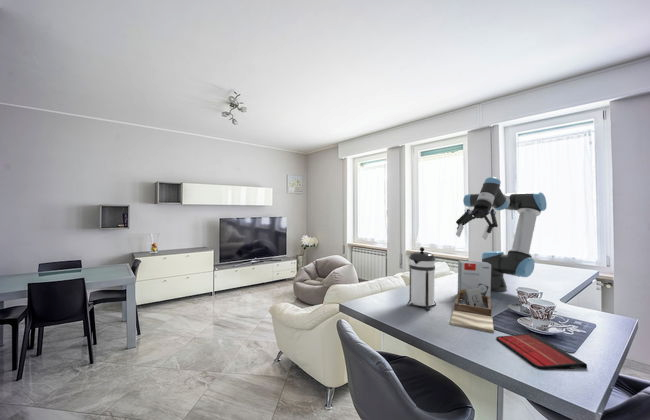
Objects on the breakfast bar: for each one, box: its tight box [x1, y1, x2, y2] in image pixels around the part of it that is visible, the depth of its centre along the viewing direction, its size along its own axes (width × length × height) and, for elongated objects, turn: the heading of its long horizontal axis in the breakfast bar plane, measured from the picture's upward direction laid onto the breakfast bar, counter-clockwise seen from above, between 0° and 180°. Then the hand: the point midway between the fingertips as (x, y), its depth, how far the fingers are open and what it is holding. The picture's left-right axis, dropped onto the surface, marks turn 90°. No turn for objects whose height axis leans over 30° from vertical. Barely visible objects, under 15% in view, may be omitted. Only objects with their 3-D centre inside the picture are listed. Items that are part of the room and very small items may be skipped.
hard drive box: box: [457, 259, 491, 298], centre depth 154 cm, size 16×8×20 cm, turn 73°
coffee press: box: [406, 247, 437, 311], centre depth 141 cm, size 17×16×30 cm
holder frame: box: [454, 291, 492, 317], centre depth 139 cm, size 21×15×4 cm
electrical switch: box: [463, 288, 485, 308], centre depth 139 cm, size 9×5×9 cm, turn 116°
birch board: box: [449, 310, 495, 334], centre depth 120 cm, size 16×16×1 cm
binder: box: [495, 332, 588, 370], centre depth 95 cm, size 16×2×21 cm
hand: (470, 236), depth 136 cm, fingers open, 13 cm apart
